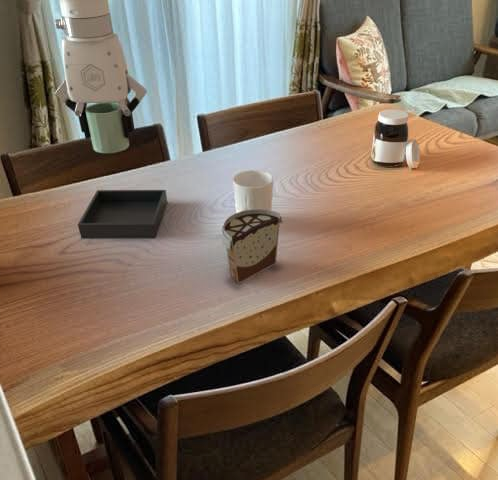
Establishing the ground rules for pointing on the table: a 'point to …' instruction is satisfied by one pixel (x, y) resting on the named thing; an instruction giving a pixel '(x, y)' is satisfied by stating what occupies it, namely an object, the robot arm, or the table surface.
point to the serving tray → (124, 214)
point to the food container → (251, 242)
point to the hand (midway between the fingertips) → (109, 135)
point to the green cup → (106, 127)
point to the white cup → (253, 190)
